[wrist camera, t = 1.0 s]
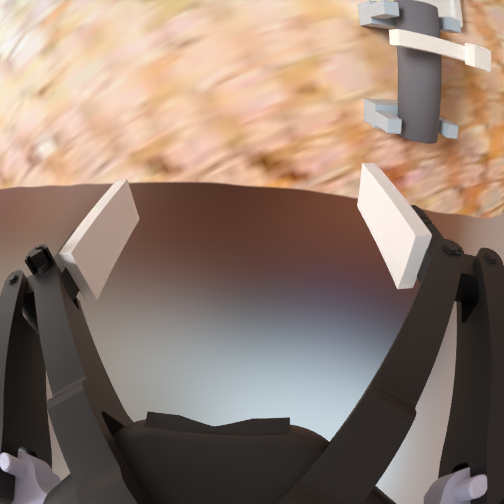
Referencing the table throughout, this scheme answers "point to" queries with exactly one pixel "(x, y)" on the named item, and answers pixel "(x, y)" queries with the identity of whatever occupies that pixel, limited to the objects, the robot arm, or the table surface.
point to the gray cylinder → (418, 74)
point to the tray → (447, 8)
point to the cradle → (387, 110)
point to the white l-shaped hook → (443, 48)
